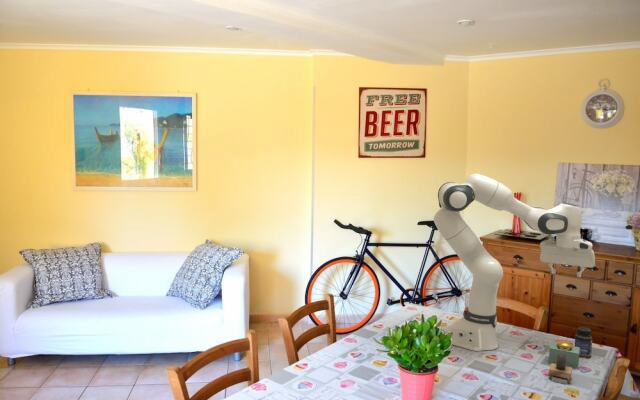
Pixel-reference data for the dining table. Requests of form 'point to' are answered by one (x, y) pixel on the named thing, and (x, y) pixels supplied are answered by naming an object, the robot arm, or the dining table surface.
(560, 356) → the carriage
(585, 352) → the pill bottle
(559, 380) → the rail
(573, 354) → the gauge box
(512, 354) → the dining table surface
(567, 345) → the plunger
